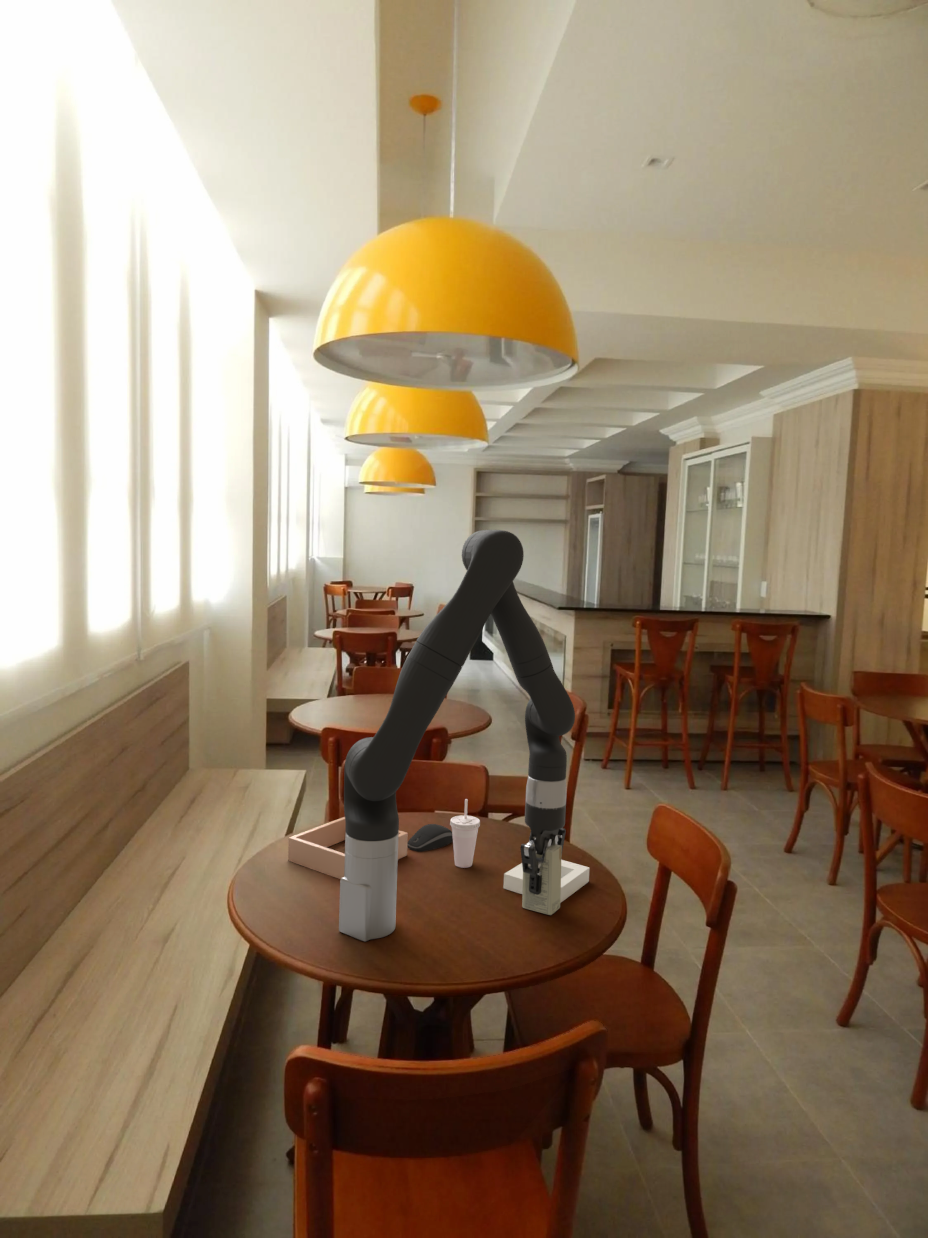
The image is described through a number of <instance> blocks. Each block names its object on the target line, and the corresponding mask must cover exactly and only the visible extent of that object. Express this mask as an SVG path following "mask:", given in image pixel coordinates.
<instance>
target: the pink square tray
mask: <svg viewBox="0 0 928 1238" xmlns="http://www.w3.org/2000/svg"><path fill="white" fill-rule="evenodd" d="M345 828H346V824H345V816H343V817H340V818H338V819H335V820H332V821H330V822H327V823H324V824H321V825H318V826H316V827H313V828H310V829H308V830H306V831H302V832H300V833H297V834H294V835H292V836H289V837H288V842H287V843H288V846H287V850H288V851H287V853H288V854H287V861H289V862H290V863H294V864H296V865H300V866H302V867H305V868H308V869H311V870H314V871H317V872H319V873H322V874H324V875H328V876H329V877H333V878H336V879H339V880H340V879H341V878H343V877H344V867H345V852H344V853H343V852H341V851H337V850H334V849H332V848H329V847H331V846H334V845H335V844H336V845H337V844H338V843H341V842H343V841H344V842H345V834H346V832H345ZM408 834H409V832H406V831H403V830H399V836H398V860H400V859H402V858H404V857H406V856H408V848H407V843H408V841H409V840H408V836H409V835H408Z"/></svg>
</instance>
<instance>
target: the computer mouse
mask: <svg viewBox="0 0 928 1238" xmlns="http://www.w3.org/2000/svg"><path fill="white" fill-rule="evenodd" d="M451 843H453V836H452V829H450V828H447V826H446V827H445V826H444V825H441V824H436V823H427V824H425V825H423V826H421V827H420V828H419V829H418V830H417V831H416V832H415V833H414V834H413V835H412V836H411V837H410V838H409V840H408V842H407V849H409V850H411V851H414V852H418V853H419V852H420V853H422V852H427V851H433V850H437V849H440V848H443V847H446V846H449V845H450V844H451Z"/></svg>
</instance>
